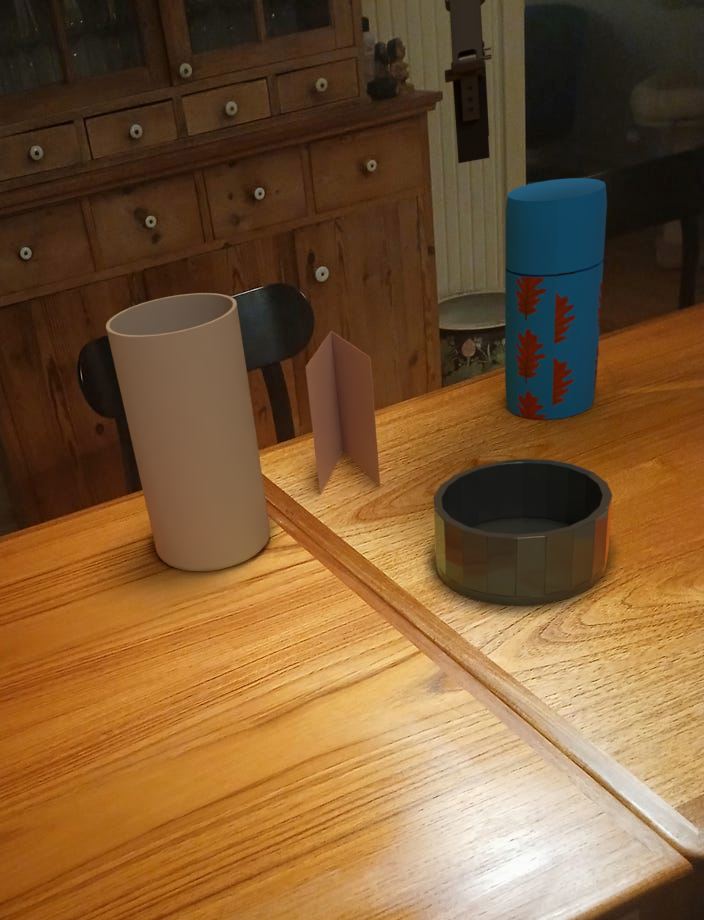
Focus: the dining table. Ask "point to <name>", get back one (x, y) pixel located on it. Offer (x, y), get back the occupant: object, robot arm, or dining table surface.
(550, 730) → the dining table surface
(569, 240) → the thermos
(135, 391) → the cylinder vase
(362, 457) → the greeting card
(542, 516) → the faceted round dish
